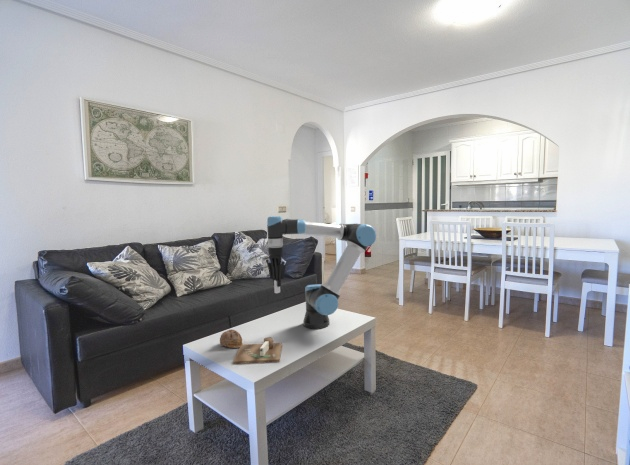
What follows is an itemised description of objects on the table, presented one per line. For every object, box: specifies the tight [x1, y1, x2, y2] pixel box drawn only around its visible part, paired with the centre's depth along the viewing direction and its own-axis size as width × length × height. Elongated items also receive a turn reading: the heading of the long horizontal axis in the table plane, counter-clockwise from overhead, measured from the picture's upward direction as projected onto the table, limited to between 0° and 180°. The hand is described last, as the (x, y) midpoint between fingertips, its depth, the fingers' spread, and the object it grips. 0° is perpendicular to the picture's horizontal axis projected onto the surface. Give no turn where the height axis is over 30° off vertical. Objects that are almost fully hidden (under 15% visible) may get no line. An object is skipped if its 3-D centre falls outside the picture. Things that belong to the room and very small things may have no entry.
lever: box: [260, 336, 274, 356], centre depth 152 cm, size 13×4×4 cm, turn 171°
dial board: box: [232, 342, 283, 365], centre depth 153 cm, size 20×18×1 cm
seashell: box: [219, 329, 244, 348], centre depth 165 cm, size 10×9×10 cm
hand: (277, 292), depth 169 cm, fingers closed
